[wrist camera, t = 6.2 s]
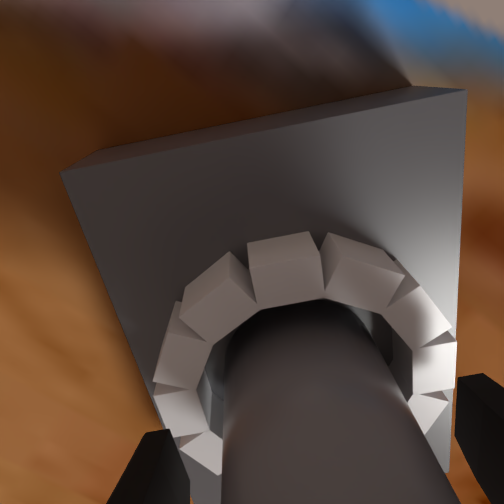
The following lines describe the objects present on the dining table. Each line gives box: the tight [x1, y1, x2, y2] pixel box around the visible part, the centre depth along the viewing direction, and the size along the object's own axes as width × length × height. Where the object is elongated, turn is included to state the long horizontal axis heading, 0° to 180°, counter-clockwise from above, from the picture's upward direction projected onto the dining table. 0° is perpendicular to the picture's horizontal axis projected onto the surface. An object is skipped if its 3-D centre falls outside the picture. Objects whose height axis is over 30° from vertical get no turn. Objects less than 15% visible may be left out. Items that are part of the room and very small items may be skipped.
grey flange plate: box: [59, 86, 468, 504], centre depth 13 cm, size 10×14×4 cm
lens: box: [221, 299, 461, 504], centre depth 9 cm, size 5×5×7 cm
